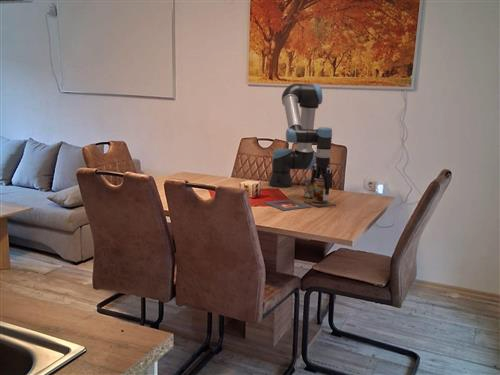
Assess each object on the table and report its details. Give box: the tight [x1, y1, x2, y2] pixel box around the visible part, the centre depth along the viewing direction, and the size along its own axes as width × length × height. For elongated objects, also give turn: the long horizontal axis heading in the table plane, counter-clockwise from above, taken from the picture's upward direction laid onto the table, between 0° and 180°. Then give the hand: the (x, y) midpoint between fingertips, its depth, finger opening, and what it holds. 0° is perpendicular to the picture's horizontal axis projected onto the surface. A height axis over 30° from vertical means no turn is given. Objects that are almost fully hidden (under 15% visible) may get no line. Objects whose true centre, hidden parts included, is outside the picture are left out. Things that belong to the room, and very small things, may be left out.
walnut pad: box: [303, 199, 337, 209], centre depth 253 cm, size 12×12×1 cm
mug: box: [299, 177, 313, 199], centre depth 270 cm, size 12×9×11 cm
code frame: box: [263, 198, 312, 212], centre depth 248 cm, size 18×18×1 cm
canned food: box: [312, 176, 328, 202], centre depth 252 cm, size 8×8×12 cm
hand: (320, 198), depth 253 cm, fingers closed on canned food, 8 cm apart
